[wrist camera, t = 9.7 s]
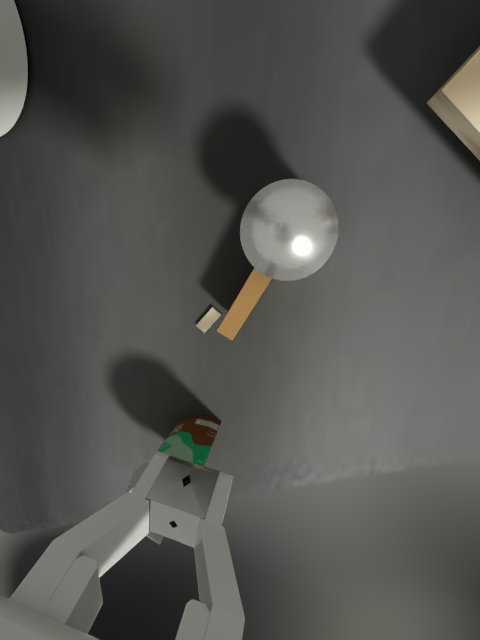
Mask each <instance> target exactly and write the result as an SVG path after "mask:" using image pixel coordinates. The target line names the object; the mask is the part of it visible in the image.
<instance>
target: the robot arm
mask: <svg viewBox="0 0 480 640" xmlns="http://www.w3.org/2000/svg"><path fill="white" fill-rule="evenodd" d="M27 82H28V62H27V51H26V44H25V38H24V33H23V29H22V25H21V21H20V17H19V14H18V11H17V8H16V5H15V2H14V0H0V137H1V136H2V135H4V134H5V133H7V132H8V131H9V130H10V129H11V128H12V127H13V126H14V124H15V123H16V121H17V119H18V118H19V116H20V113H21V111H22V108H23V105H24V101H25V97H26V91H27ZM232 480H233V476H232V475H229V474H225V473H222V472H220V471H217V470H214V469H211V468H208V467H204V466H201V465H198V464H194V463H191V462H188V461H185V460H182V459H179V458H176V457H173V456H171V455H168V454H165V453H162V452H158V451H157V452H156V453H155V455H154V456H153V457H152V459H151V461H150V462H149V464H148V466H147V467H146V469H145V471H144V472H143V474H142V476H141V477H140V479H139V481H138V482H137V484H136V486H135V487H134V489H133V491H132V492H131V493H128V492H127V493H125V494H124V495H122V496H121V497H119V498H117V499H116V500H114V501H113V502H111V503H110V504H108V505H107V506H105V507H104V508H102V509H101V510H99V511H98V512H96V513H95V514H93V515H91V516H90V517H88V518H87V519H85V520H84V521H82V522H81V523H79V524H78V525H76V526H75V527H73V528H72V529H70V530H69V531H67V532H65V533H64V534H63V535H61V536H60V537H58V538H56V539H55V540H53V541H52V543H51V544H50V545H49V547H48V548H47V549H46V551H45V552H44V553H43V555H42V556H41V558H40V559H39V560H38V561H37V563H36V564H35V565H34V567H33V568H32V569H31V571H30V572H29V573H28V575H27V576H26V577H25V579H24V580H23V581H22V583H21V584H20V585H19V587H18V588H17V589H16V591H15V592H14V593H13V595H12V596H11V597H10V599H8V598H6V597H3V596H1V595H0V640H99V639H97V638H95V637H93V636H90V635H88V632H89V630H90V628H91V625H92V624H93V621H94V620H95V618H96V616H97V613H98V611H99V609H100V607H101V605H102V593H101V588H100V583H99V577H101V576H102V575H103V574H104V573H105V572H106V571H107V570H108V569H109V568H110V567H112V566H113V565H114V564H115V563H116V562H117V561H118V560H119V559H121V558H122V557H123V556H124V555H125V554H126V553H127V552H128V551H129V550H131V549H132V548H133V547H134V546H135V545H136V544H137V543H138V542H139V541H140V540H141V539H143V538H144V537H145V536H146V535H147V534H148V533H149V531H150V532H153V533H156V534H159V535H162V536H165V537H168V538H171V539H174V540H176V541H178V542H181V543H183V544H186V545H188V546H191V547H193V548H195V549H194V550H195V560H196V569H197V578H198V587H199V597H200V602H198V601H196V600H191V601H189V602H188V603H187V604H186V607H185V610H184V614H183V617H182V620H181V623H180V627H179V630H178V633H177V636H176V639H175V640H242V635H243V628H244V621H245V617H244V613H243V608H242V604H241V599H240V595H239V590H238V586H237V582H236V577H235V573H234V569H233V564H232V559H231V555H230V551H229V546H228V542H227V537H226V533H225V529H224V527H222V526H221V525H222V521H223V517H224V514H225V509H226V505H227V501H228V497H229V493H230V488H231V484H232Z"/></svg>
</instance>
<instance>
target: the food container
mask: <svg viewBox="0 0 480 640" xmlns="http://www.w3.org/2000/svg"><path fill="white" fill-rule="evenodd" d="M220 424H221V421H219V420H217V419H215V418H212V417H208V416H204V415H190V416H187V417H185V418H182V419H181V420H180V421H179V422H178V423H177V424H176V426H175V427H174V429H173V430H172V431H171V433H170V434H169V435H168V437H167V438H166V440H165V441H164V442H163V444H162V445H161V447H160V448H159V449H158V452H162V453H165V454H168V455H171V456H173V457H176V458H179V459H182V460H185V461H188V462H191V463H194V464H198V465H201V466H204V464H205V462H206V459H207V457H208V454H209V452H210V449H211V447H212V444H213V442H214V439H215V436H216V434H217V431H218V429H219V426H220ZM150 461H151V460H150ZM148 464H149V463H145V464H143V465H142V466H140V467H139V468H138V469H137V470H136V471H135V473H134V475H133V477H132V479H131V482H130V484H129V487H128V490H127V492H128V493H131V492H132V491H133V489H134V487H135V486H136V484H137V482H138V481H139V479H140V477H141V476H142V474H143V472H144V471H145V469H146V467H147V466H148ZM146 536H148V537H149V538H150V539H152V540H153V541H155V542H157V543H158V544H160V543H161V541H162V538H163V536H162V535H159V534H156V533H153V532H150V531H149V533H148V534H147V535H146Z"/></svg>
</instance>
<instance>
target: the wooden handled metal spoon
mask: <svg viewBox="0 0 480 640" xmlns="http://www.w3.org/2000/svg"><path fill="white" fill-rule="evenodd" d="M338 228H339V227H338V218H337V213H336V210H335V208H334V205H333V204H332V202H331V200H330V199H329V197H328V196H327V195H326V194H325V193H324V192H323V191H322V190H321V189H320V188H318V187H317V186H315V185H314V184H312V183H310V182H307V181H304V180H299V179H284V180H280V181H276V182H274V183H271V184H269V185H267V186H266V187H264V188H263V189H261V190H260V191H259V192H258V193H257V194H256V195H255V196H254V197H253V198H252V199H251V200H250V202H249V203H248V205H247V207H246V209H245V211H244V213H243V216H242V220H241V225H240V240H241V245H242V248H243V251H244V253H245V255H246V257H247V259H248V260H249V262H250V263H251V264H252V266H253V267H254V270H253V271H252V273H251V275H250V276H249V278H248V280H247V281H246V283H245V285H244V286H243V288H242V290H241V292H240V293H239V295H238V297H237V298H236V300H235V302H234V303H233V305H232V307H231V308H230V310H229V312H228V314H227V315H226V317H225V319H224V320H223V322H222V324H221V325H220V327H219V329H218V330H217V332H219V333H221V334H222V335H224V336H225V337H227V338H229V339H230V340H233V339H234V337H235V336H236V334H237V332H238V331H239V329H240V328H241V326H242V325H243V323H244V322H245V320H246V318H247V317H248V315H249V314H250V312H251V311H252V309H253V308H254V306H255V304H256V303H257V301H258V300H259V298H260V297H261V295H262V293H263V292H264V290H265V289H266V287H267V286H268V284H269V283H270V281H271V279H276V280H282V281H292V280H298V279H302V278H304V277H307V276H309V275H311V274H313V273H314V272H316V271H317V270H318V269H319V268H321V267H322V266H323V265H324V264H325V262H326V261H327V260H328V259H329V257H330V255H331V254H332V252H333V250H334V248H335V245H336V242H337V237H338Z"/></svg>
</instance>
